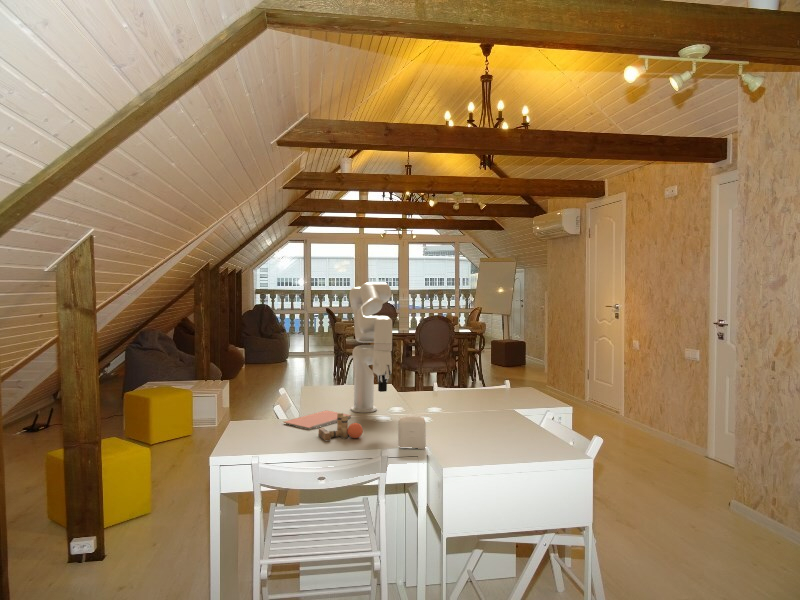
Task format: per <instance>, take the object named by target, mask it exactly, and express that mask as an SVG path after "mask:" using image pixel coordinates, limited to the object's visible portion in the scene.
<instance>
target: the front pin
mask: <svg viewBox="0 0 800 600" xmlns="http://www.w3.org/2000/svg"><path fill="white" fill-rule="evenodd" d="M341 431H342V430H338V431H337V430H329V431H328V432H330V438H338V437H339V436H340V437H341ZM348 435H349V434H348ZM340 437H339V438H340Z"/></svg>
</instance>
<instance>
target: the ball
mask: <svg viewBox="0 0 800 600" xmlns="http://www.w3.org/2000/svg"><path fill="white" fill-rule="evenodd" d="M363 432H364V430H363V426H362V425H361V424H360V423H357V422H353V423H350V424H349V425H348V434H349V437H350V438H352V439H359V438H360V437H361V436H362V434H363Z"/></svg>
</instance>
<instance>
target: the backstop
mask: <svg viewBox="0 0 800 600" xmlns="http://www.w3.org/2000/svg"><path fill="white" fill-rule="evenodd" d="M318 436H319V437H320V436H321V437H322V438H323V439H324V440H330V441H331V437H330V432H329V431H328V430H327V428H325V427H321V428H318ZM321 437H320V438H321ZM322 438H321V439H322ZM323 439H322V440H323ZM324 440H323V441H324Z"/></svg>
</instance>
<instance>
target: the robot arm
mask: <svg viewBox="0 0 800 600" xmlns="http://www.w3.org/2000/svg"><path fill="white" fill-rule="evenodd" d="M391 296H392V289H391V286H390V285H389V284H388V283H387V282H365V283H363V284H362V285H361V286H355V287H353V288H351V289H350V290H349V298H348V299H349V303H350V306H351V310H352V312H353V318H354V319H353V320H354V321H353V322H354V324H353V325H354V336H355V341H356V342H358V343H373V344H361V345H357V346H355V347H353V349H352V362H353V379H354V380H353V381H354V382H353V386H354V387H353V405H352V406H351V407H350V411H351V412H353V413H359V414H360V413H362V414H363V413H364V414H365V413H373V412H375V411H377V406H375V405H374V398H375V397H374V396H375V395H374V392H375V391H374V390H375V389H374V388H375V387H374V385H375V384H374V381H375V380H374V379H375V376H374V374H375V375H376V376H377V384H378V385H377V391H378V392H380V393H381V392H383V393H385V392H387V390H388V380H389V379H390V376H391V375H392V370H393V363H392V362H393V360H392V358H393V357H392V351H393V320H392V318H390V316H388V315H375V314H377V313H379V312H380V311H382V310H381V309H382V308H383V304H385V303H387V302H388V301H390V299H391ZM371 365H372V369H371V368H370V366H371Z"/></svg>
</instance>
